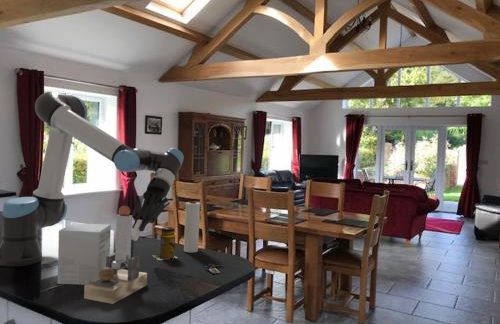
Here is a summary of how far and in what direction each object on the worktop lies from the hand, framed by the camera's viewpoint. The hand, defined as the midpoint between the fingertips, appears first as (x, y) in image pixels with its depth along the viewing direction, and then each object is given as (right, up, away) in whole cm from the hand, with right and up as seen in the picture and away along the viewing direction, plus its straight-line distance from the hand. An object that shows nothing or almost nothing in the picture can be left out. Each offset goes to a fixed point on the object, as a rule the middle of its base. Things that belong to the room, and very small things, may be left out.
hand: (133, 238), depth 139 cm
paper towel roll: (+13, -14, +46) cm, 50 cm away
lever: (-2, -8, -5) cm, 10 cm away
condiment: (+3, -14, +35) cm, 38 cm away
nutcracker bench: (-3, -15, -7) cm, 17 cm away
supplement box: (-18, -15, +4) cm, 23 cm away
